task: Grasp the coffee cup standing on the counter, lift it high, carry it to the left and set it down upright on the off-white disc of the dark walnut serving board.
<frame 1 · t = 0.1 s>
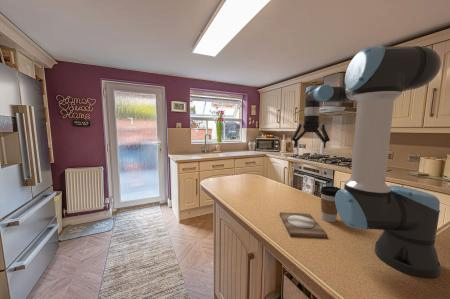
hand: (309, 153, 107), 28 cm above the counter, fingers open, 13 cm apart
coffee cup: (328, 219, 88), on the counter
board: (300, 225, 82), on the counter
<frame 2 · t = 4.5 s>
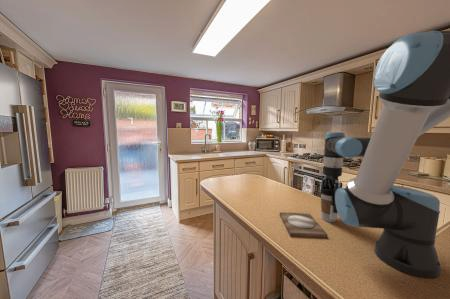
hand: (328, 214, 88), 2 cm above the counter, fingers closed on coffee cup, 8 cm apart
coffee cup: (328, 219, 88), on the counter, touching gripper
when the fingers open (5 cm above the counter, at t = 10.4 s): coffee cup drops 1 cm, resting on board.
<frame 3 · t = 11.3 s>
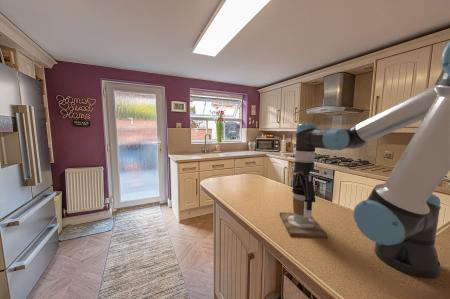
hand: (301, 209, 82), 7 cm above the counter, fingers open, 13 cm apart
coffee cup: (300, 221, 82), point 2 cm above the counter, touching board
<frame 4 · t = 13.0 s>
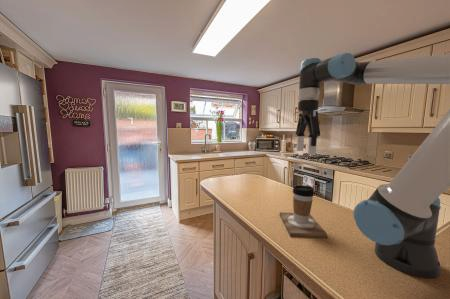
hand: (305, 152, 79), 32 cm above the counter, fingers open, 13 cm apart
nothing on the counter moved.
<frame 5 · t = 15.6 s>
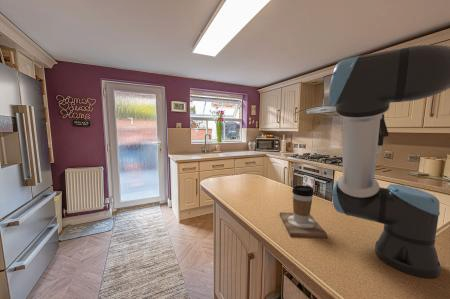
hand: (366, 151, 87), 32 cm above the counter, fingers open, 13 cm apart
nothing on the counter moved.
at the end: coffee cup inside the target area on the board (0.1 cm from its centre), point 1.7 cm above the board's base; coffee cup tilted 0°; the gripper is holding nothing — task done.
